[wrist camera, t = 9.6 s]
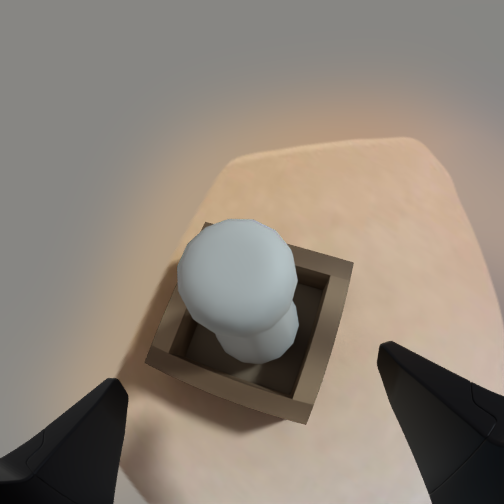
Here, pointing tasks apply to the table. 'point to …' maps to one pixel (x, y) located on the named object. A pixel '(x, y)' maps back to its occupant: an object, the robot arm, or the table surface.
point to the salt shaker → (241, 288)
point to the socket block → (270, 373)
